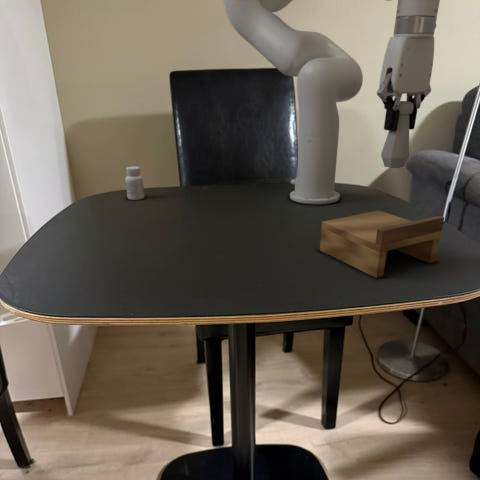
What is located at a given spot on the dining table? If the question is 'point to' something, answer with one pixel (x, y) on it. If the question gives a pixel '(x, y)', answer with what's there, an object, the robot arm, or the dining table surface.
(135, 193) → the pill bottle
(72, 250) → the dining table surface
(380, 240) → the shelf
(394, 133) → the salt shaker
